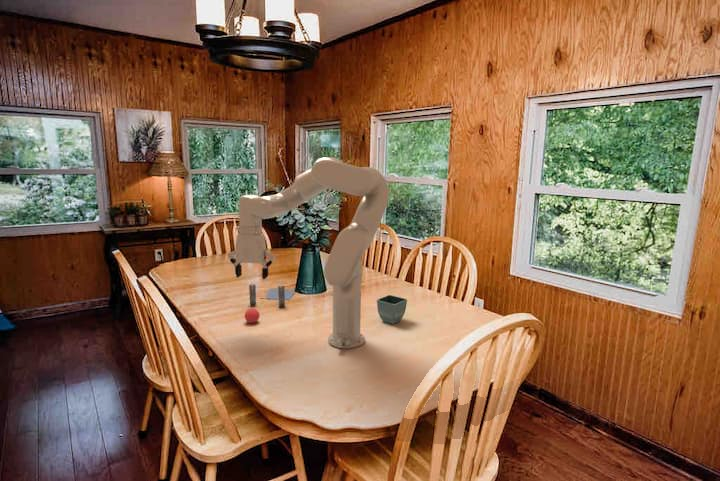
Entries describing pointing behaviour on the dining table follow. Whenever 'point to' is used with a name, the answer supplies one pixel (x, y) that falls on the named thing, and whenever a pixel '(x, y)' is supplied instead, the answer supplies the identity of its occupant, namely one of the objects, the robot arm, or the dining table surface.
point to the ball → (252, 315)
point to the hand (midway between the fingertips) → (251, 277)
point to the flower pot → (391, 308)
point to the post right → (281, 296)
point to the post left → (252, 295)
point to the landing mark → (274, 294)
